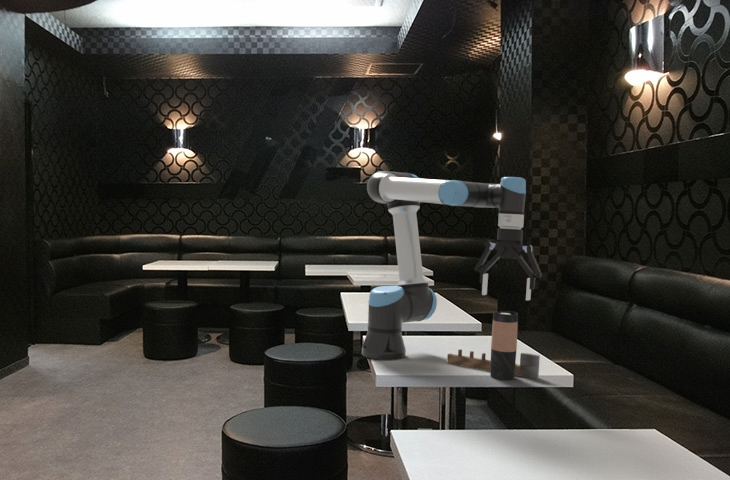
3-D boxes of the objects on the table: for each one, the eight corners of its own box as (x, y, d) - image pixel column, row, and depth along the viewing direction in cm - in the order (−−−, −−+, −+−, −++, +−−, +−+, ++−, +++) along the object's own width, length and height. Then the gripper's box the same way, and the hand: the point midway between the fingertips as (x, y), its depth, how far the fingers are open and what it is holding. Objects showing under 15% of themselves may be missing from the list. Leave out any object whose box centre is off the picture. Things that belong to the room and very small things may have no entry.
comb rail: (446, 363, 199) (448, 342, 199) (449, 362, 201) (450, 341, 200) (537, 378, 185) (538, 356, 184) (538, 377, 186) (539, 355, 186)
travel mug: (515, 381, 181) (519, 315, 180) (489, 379, 182) (493, 313, 181) (514, 374, 188) (517, 311, 187) (489, 372, 190) (492, 309, 189)
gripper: (467, 225, 186) (462, 293, 187) (549, 230, 174) (544, 303, 175) (475, 225, 192) (470, 291, 194) (554, 230, 180) (550, 300, 181)
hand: (505, 297), depth 184 cm, fingers open, 13 cm apart
